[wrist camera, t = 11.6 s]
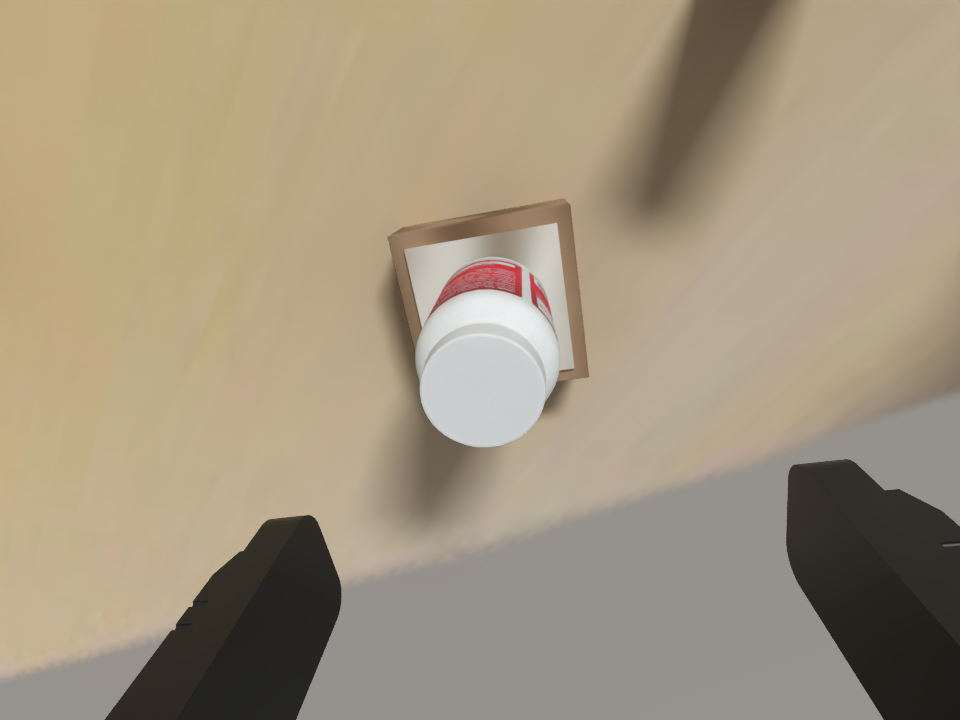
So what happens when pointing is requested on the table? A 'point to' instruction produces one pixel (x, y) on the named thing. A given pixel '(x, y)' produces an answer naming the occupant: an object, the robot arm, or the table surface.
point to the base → (504, 233)
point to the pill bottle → (488, 354)
